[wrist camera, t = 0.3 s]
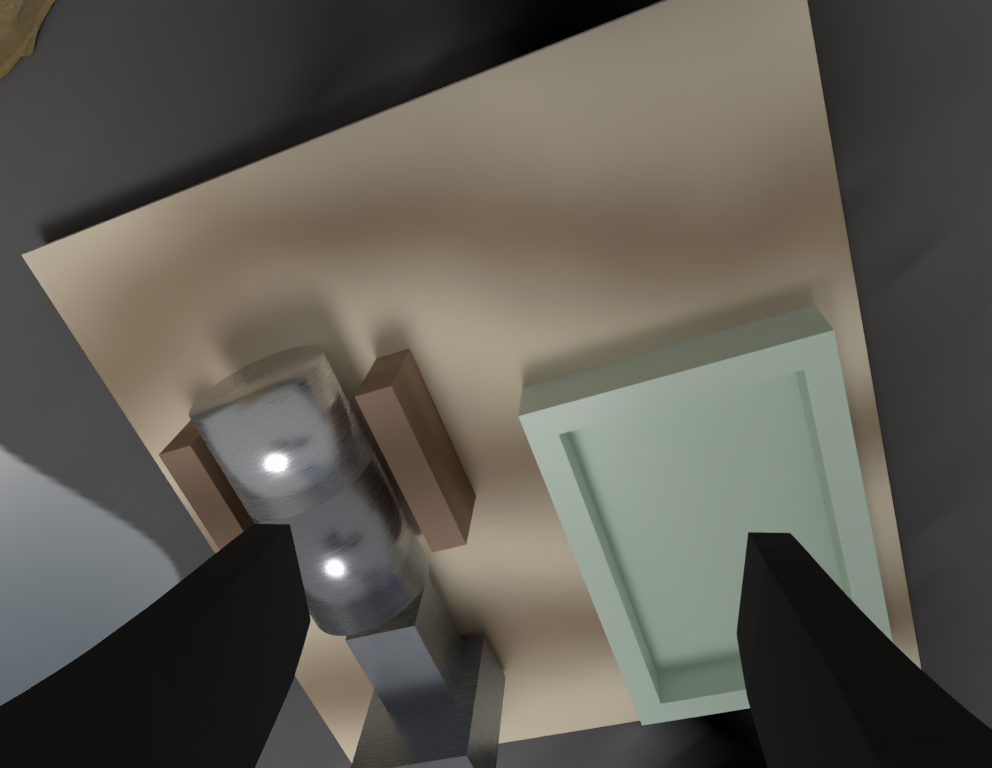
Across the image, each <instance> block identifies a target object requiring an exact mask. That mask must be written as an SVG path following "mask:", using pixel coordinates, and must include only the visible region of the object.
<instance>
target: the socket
mask: <svg viewBox="0 0 992 768" xmlns="http://www.w3.org/2000/svg"><path fill="white" fill-rule="evenodd" d="M355 399H356V401H357V403H358V405H359V407H360V409H361V411H362V413H363V415H364V417H365V419H366V421H367V423H368V425H369V427H370V429H371V431H372V433H373V435H374V437H375V439H376V441H377V443H378V445H379V447H380V449H381V451H382V453H383V455H384V457H385V459H386V461H387V463H388V465H389V467H390V469H391V471H392V473H393V475H394V477H395V479H396V481H397V483H398V485H399V487H400V489H401V491H402V493H403V495H404V497H405V499H406V501H407V503H408V505H409V507H410V509H411V511H412V513H413V515H414V517H415V519H416V521H417V523H418V525H419V527H420V529H421V531H422V533H423V535H424V537H425V539H426V541H427V543H428V545H429V547H430V549H431V551H432V553H433V552H437V551H441V550H445V549H450V548H454V547H458V546H462V545H466V543H467V538H468V534H469V529H470V524H471V519H472V514H473V509H474V504H475V500H476V495H475V493H474V490H473V488H472V486H471V484H470V482H469V479H468V477H467V475H466V473H465V470H464V468H463V466H462V464H461V462H460V459H459V457H458V455H457V453H456V451H455V448H454V446H453V444H452V442H451V439H450V437H449V435H448V433H447V431H446V428H445V426H444V424H443V422H442V419H441V417H440V415H439V413H438V411H437V408H436V406H435V404H434V402H433V399H432V397H431V395H430V393H429V391H428V388H427V386H426V384H425V382H424V379H423V377H422V375H421V373H420V371H419V368H418V366H417V364H416V362H415V359H414V357H413V355H412V353H411V351H410V348H409V349H406V350H403V351H399V352H396V353H393V354H390V355H386V356H383V357H380V358H377V359H376V360H375V361H374V363H373V365H372V367H371V369H370V370H369V372H368V374H367V376H366V377H365V379H364V381H363V383H362V384H361V386H360V388H359V390H358V392H357V393H356V395H355ZM159 457H160V458H161V460H162V461H163V463H164V464H165V466H166V467H167V469H168V471H169V472H170V474H171V475H172V477H173V478H174V480H175V481H176V483H177V485H178V486H179V488H180V489H181V491H182V492H183V494H184V495H185V497H186V498H187V500H188V502H189V503H190V505H191V506H192V508H193V509H194V511H195V512H196V514H197V515H198V517H199V519H200V520H201V522H202V523H203V525H204V526H205V528H206V529H207V531H208V533H209V534H210V536H211V537H212V539H213V540H214V542H215V543H216V545H217V546H218V548H219V550H221V549H222V548H223V547H224V546H226V545H227V544H228V543H229V542H231V541H232V540H233V539H234V538H236V537H237V536H238V535H240V534H241V533H242V532H244V531H245V530H246V529H248V528H249V527H250V526H252V525H253V524H254V522H253V520H252V519H251V517H250V515H249V514H248V512H247V510H246V509H245V507H244V506H243V504H242V502H241V501H240V499H239V497H238V496H237V494H236V492H235V491H234V489H233V487H232V486H231V484H230V483H229V481H228V479H227V478H226V476H225V474H224V473H223V471H222V469H221V468H220V466H219V465H218V463H217V461H216V460H215V458H214V456H213V455H212V453H211V451H210V450H209V448H208V447H207V445H206V443H205V442H204V440H203V438H202V437H201V435H200V433H199V432H198V430H197V429H196V427H195V425H194V424H193V422H192V420H190V421H189V422H188V423H187V425H186V426H185V427H184V428H183V429H182V430H181V431H180V432H179V433H178V434H177V435H176V436H175V438H174V439H173V440H172V441H171V442H170V443H169V444H168V445H167V446H166V447H165V448H164V449H163V451H162V452H161V453H160V454H159Z"/></svg>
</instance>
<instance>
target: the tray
mask: <svg viewBox="0 0 992 768" xmlns="http://www.w3.org/2000/svg"><path fill="white" fill-rule="evenodd" d="M518 417H519V419H520V422H521V424H522V427H523V429H524V432H525V434H526V437H527V439H528V442H529V444H530V447H531V449H532V452H533V454H534V457H535V459H536V462H537V464H538V467H539V469H540V472H541V474H542V477H543V479H544V482H545V484H546V487H547V489H548V492H549V494H550V497H551V499H552V502H553V504H554V507H555V509H556V512H557V514H558V517H559V519H560V522H561V524H562V527H563V529H564V532H565V534H566V537H567V539H568V542H569V544H570V547H571V549H572V552H573V554H574V557H575V559H576V562H577V564H578V567H579V569H580V572H581V574H582V577H583V579H584V582H585V584H586V587H587V589H588V592H589V594H590V597H591V599H592V602H593V604H594V607H595V609H596V612H597V614H598V617H599V619H600V622H601V624H602V627H603V629H604V632H605V634H606V637H607V639H608V642H609V644H610V647H611V649H612V652H613V654H614V657H615V659H616V662H617V664H618V666H619V669H620V671H621V674H622V676H623V679H624V681H625V684H626V686H627V689H628V691H629V694H630V696H631V699H632V701H633V704H634V706H635V709H636V711H637V714H638V716H639V719H640V721H641V724H642V725H648V724H654V723H661V722H667V721H673V720H679V719H685V718H692V717H698V716H704V715H710V714H716V713H723V712H729V711H735V710H741V709H747V708H750V705H749V702H748V698H747V693H746V688H745V682H744V677H743V671H742V665H741V659H740V653H739V647H738V641H737V634H736V632H737V624H738V615H739V607H740V598H741V590H742V581H743V573H744V564H745V556H746V547H747V539H748V532H765V533H791V534H792V535H793V536H794V537H795V538H796V539H797V540H798V541H799V543H800V544H801V545H802V546H803V547H804V548H805V549H806V550H807V551H808V553H809V554H810V555H811V556H812V557H813V558H814V559H815V560H816V562H817V563H818V564H819V565H820V566H821V567H822V568H823V569H824V571H825V572H826V573H827V574H828V575H829V576H830V577H831V578H832V579H833V580H834V582H835V583H836V584H837V585H838V586H839V587H840V588H841V589H842V590H843V591H844V592H845V594H846V595H847V596H848V597H849V598H850V599H851V600H852V601H853V602H854V603H855V604H856V605H857V606H858V607H859V609H860V610H861V611H862V612H863V613H864V614H865V615H866V616H867V617H868V618H869V619H870V620H871V621H872V622H873V623H874V624H875V625H876V626H877V627H878V628H879V629H880V630H881V631H882V632H883V633H884V634H885V635H886V636H887V637H888V638H889V639H890V640H891V641H892V635H891V630H890V625H889V619H888V614H887V609H886V603H885V598H884V593H883V588H882V582H881V577H880V572H879V566H878V561H877V556H876V550H875V545H874V540H873V535H872V529H871V524H870V519H869V513H868V508H867V503H866V497H865V492H864V487H863V481H862V476H861V471H860V466H859V460H858V455H857V450H856V444H855V439H854V434H853V428H852V423H851V418H850V413H849V407H848V402H847V397H846V391H845V386H844V381H843V375H842V370H841V365H840V359H839V354H838V349H837V344H836V338H835V333H834V329H833V328H832V327H831V326H830V324H829V323H828V322H827V320H826V319H825V318H824V317H823V315H822V314H821V313H820V311H819V310H818V309H817V308H816V306H815V305H811V306H807V307H804V308H800V309H797V310H793V311H790V312H786V313H783V314H779V315H776V316H772V317H769V318H765V319H761V320H758V321H754V322H751V323H747V324H744V325H740V326H737V327H733V328H730V329H726V330H723V331H719V332H715V333H712V334H708V335H705V336H701V337H698V338H694V339H691V340H687V341H684V342H680V343H677V344H673V345H669V346H666V347H662V348H659V349H655V350H652V351H648V352H645V353H641V354H638V355H634V356H631V357H627V358H623V359H620V360H616V361H613V362H609V363H606V364H602V365H599V366H595V367H592V368H588V369H585V370H581V371H577V372H574V373H570V374H567V375H563V376H560V377H556V378H553V379H549V380H546V381H542V382H539V383H535V384H531V385H528V386H524V387H522V394H521V401H520V408H519V415H518ZM892 642H893V641H892Z"/></svg>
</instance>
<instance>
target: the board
mask: <svg viewBox="0 0 992 768" xmlns="http://www.w3.org/2000/svg"><path fill="white" fill-rule="evenodd" d="M22 257H23V258H24V260H25V261H26V263H27V264H28V266H29V267H30V269H31V271H32V272H33V274H34V275H35V277H36V278H37V280H38V281H39V283H40V284H41V286H42V287H43V289H44V291H45V292H46V294H47V295H48V297H49V298H50V300H51V301H52V303H53V304H54V306H55V307H56V309H57V311H58V312H59V314H60V315H61V317H62V318H63V320H64V321H65V323H66V324H67V326H68V327H69V329H70V331H71V332H72V334H73V335H74V337H75V338H76V340H77V341H78V343H79V344H80V346H81V347H82V349H83V351H84V352H85V354H86V355H87V357H88V358H89V360H90V361H91V363H92V364H93V366H94V367H95V369H96V371H97V372H98V374H99V375H100V377H101V378H102V380H103V381H104V383H105V384H106V386H107V387H108V389H109V390H110V392H111V394H112V395H113V397H114V398H115V400H116V401H117V403H118V404H119V406H120V407H121V409H122V410H123V412H124V414H125V415H126V417H127V418H128V420H129V421H130V423H131V424H132V426H133V427H134V429H135V430H136V432H137V434H138V435H139V437H140V438H141V440H142V441H143V443H144V444H145V446H146V447H147V449H148V450H149V452H150V454H151V455H152V457H153V458H154V460H155V461H156V463H157V464H158V466H159V467H160V469H161V470H162V472H163V474H164V475H165V477H166V478H167V480H168V481H169V483H170V484H171V486H172V487H173V489H174V490H175V492H176V494H177V495H178V497H179V498H180V500H181V501H182V503H183V504H184V506H185V507H186V509H187V510H188V512H189V514H190V515H191V517H192V518H193V520H194V521H195V523H196V524H197V526H198V527H199V529H200V530H201V532H202V533H203V535H204V537H205V538H206V540H207V541H208V543H209V544H210V546H211V547H212V549H213V550H214V552H215V553H217V552H218V551H219V548H218V546H217V545H216V543H215V542H214V540H213V539H212V537H211V536H210V534H209V533H208V531H207V529H206V528H205V526H204V525H203V523H202V522H201V520H200V519H199V517H198V515H197V514H196V512H195V511H194V509H193V508H192V506H191V505H190V503H189V502H188V500H187V498H186V497H185V495H184V494H183V492H182V491H181V489H180V488H179V486H178V485H177V483H176V481H175V480H174V478H173V477H172V475H171V474H170V472H169V471H168V469H167V467H166V466H165V464H164V463H163V461H162V460H161V458H160V457H159V454H160V453H161V452H162V451H163V449H164V448H165V447H166V446H167V445H168V444H169V443H170V442H171V441H172V440H173V439H174V438H175V436H176V435H177V434H178V433H179V432H180V431H181V430H182V429H183V428H184V427H185V426H186V425H187V423H188V422H189V421H190V420H191V419H190V417H189V411H190V408H191V407H192V405H193V404H194V403H195V402H196V400H197V399H198V398H199V397H200V396H201V395H203V394H204V393H205V392H206V391H207V390H209V389H210V388H211V387H213V386H214V385H215V384H217V383H218V382H220V381H221V380H223V379H225V378H226V377H228V376H229V375H231V374H233V373H235V372H236V371H238V370H240V369H242V368H244V367H246V366H248V365H250V364H252V363H254V362H256V361H258V360H261V359H263V358H265V357H268V356H270V355H273V354H276V353H279V352H282V351H285V350H288V349H292V348H296V347H301V346H318V347H320V348H322V349H323V351H324V353H325V355H326V357H327V359H328V361H329V363H330V365H331V367H332V369H333V371H334V373H335V375H336V377H337V379H338V381H339V383H340V385H341V387H342V389H343V391H344V393H345V395H346V397H347V399H348V401H349V403H350V405H351V407H352V409H353V411H354V413H355V415H356V417H357V419H358V421H359V423H360V425H361V427H362V429H363V431H364V433H365V435H366V437H367V439H368V441H369V443H370V445H371V447H372V449H373V451H374V453H375V455H376V457H377V458H378V460H379V462H380V464H381V466H382V468H383V470H384V472H385V474H386V476H387V478H388V480H389V482H390V484H391V486H392V488H393V490H394V492H395V494H396V496H397V498H398V500H399V502H400V504H401V506H402V508H403V510H404V512H405V514H406V516H407V518H408V520H409V522H410V524H411V526H412V528H413V530H414V532H415V534H416V536H417V538H418V540H419V542H420V544H421V546H422V548H423V550H424V552H425V554H426V556H427V558H428V560H429V575H430V577H431V579H432V581H433V583H434V585H435V587H436V589H437V591H438V593H439V595H440V597H441V599H442V601H443V603H444V605H445V607H446V609H447V611H448V613H449V615H450V617H451V619H452V621H453V622H454V624H455V626H456V628H457V630H458V632H459V634H460V636H461V638H466V637H471V636H476V635H481V634H485V636H486V638H487V640H488V642H489V644H490V646H491V648H492V650H493V652H494V654H495V656H496V658H497V660H498V662H499V664H500V666H501V668H502V670H503V673H504V675H505V677H506V678H505V687H504V697H503V706H502V715H501V725H500V734H499V743H505V742H511V741H517V740H523V739H530V738H536V737H542V736H548V735H554V734H560V733H566V732H572V731H579V730H585V729H591V728H597V727H603V726H609V725H615V724H622V723H628V722H634V721H640V719H639V716H638V714H637V711H636V709H635V706H634V704H633V701H632V699H631V696H630V694H629V691H628V689H627V686H626V684H625V681H624V679H623V676H622V674H621V671H620V669H619V666H618V664H617V662H616V659H615V657H614V654H613V652H612V649H611V647H610V644H609V642H608V639H607V637H606V634H605V632H604V629H603V627H602V624H601V622H600V619H599V617H598V614H597V612H596V609H595V607H594V604H593V602H592V599H591V597H590V594H589V592H588V589H587V587H586V584H585V582H584V579H583V577H582V574H581V572H580V569H579V567H578V564H577V562H576V559H575V557H574V554H573V552H572V549H571V547H570V544H569V542H568V539H567V537H566V534H565V532H564V529H563V527H562V524H561V522H560V519H559V517H558V514H557V512H556V509H555V507H554V504H553V502H552V499H551V497H550V494H549V492H548V489H547V487H546V484H545V482H544V479H543V477H542V474H541V472H540V469H539V467H538V464H537V462H536V459H535V457H534V454H533V452H532V449H531V447H530V444H529V442H528V439H527V437H526V434H525V432H524V429H523V427H522V424H521V422H520V419H519V417H518V415H519V408H520V401H521V394H522V387H524V386H528V385H531V384H535V383H539V382H542V381H546V380H549V379H553V378H556V377H560V376H563V375H567V374H570V373H574V372H577V371H581V370H585V369H588V368H592V367H595V366H599V365H602V364H606V363H609V362H613V361H616V360H620V359H623V358H627V357H631V356H634V355H638V354H641V353H645V352H648V351H652V350H655V349H659V348H662V347H666V346H669V345H673V344H677V343H680V342H684V341H687V340H691V339H694V338H698V337H701V336H705V335H708V334H712V333H715V332H719V331H723V330H726V329H730V328H733V327H737V326H740V325H744V324H747V323H751V322H754V321H758V320H761V319H765V318H769V317H772V316H776V315H779V314H783V313H786V312H790V311H793V310H797V309H800V308H804V307H807V306H811V305H815V306H816V308H817V309H818V310H819V311H820V313H821V314H822V315H823V317H824V318H825V319H826V320H827V322H828V323H829V324H830V326H831V327H832V328H833V329H834V333H835V338H836V344H837V349H838V354H839V359H840V365H841V370H842V375H843V381H844V386H845V391H846V397H847V402H848V407H849V413H850V418H851V423H852V428H853V434H854V439H855V444H856V450H857V455H858V460H859V466H860V471H861V476H862V481H863V487H864V492H865V497H866V503H867V508H868V513H869V519H870V524H871V529H872V535H873V540H874V545H875V550H876V556H877V561H878V566H879V572H880V577H881V582H882V588H883V593H884V598H885V603H886V609H887V614H888V619H889V625H890V630H891V635H892V641H893V643H894V644H895V645H896V646H897V647H898V648H899V649H900V650H901V651H902V652H903V653H904V654H905V655H906V656H907V657H908V658H909V659H910V660H911V661H912V662H914V663H915V664H916V665H917V666H918V667H919V668H920V669H921V665H920V659H919V653H918V647H917V641H916V635H915V630H914V624H913V618H912V612H911V606H910V600H909V594H908V589H907V583H906V577H905V571H904V565H903V559H902V553H901V548H900V542H899V536H898V530H897V524H896V518H895V512H894V507H893V501H892V495H891V489H890V483H889V477H888V471H887V466H886V460H885V454H884V448H883V442H882V436H881V430H880V425H879V419H878V413H877V407H876V401H875V395H874V389H873V384H872V378H871V372H870V366H869V360H868V354H867V348H866V343H865V337H864V331H863V325H862V319H861V313H860V307H859V302H858V296H857V290H856V284H855V278H854V272H853V266H852V261H851V255H850V249H849V243H848V237H847V231H846V225H845V220H844V214H843V208H842V202H841V196H840V190H839V184H838V179H837V173H836V167H835V161H834V155H833V149H832V143H831V138H830V132H829V126H828V120H827V114H826V108H825V102H824V97H823V91H822V85H821V79H820V73H819V67H818V62H817V56H816V50H815V44H814V38H813V32H812V26H811V21H810V15H809V9H808V3H807V0H662V1H660V2H657V3H655V4H652V5H650V6H647V7H645V8H642V9H640V10H637V11H635V12H632V13H629V14H627V15H624V16H622V17H619V18H617V19H614V20H612V21H609V22H607V23H604V24H602V25H599V26H597V27H594V28H591V29H589V30H586V31H584V32H581V33H579V34H576V35H574V36H571V37H569V38H566V39H564V40H561V41H559V42H556V43H554V44H551V45H548V46H546V47H543V48H541V49H538V50H536V51H533V52H531V53H528V54H526V55H523V56H521V57H518V58H516V59H513V60H510V61H508V62H505V63H503V64H500V65H498V66H495V67H493V68H490V69H488V70H485V71H483V72H480V73H478V74H475V75H472V76H470V77H467V78H465V79H462V80H460V81H457V82H455V83H452V84H450V85H447V86H445V87H442V88H440V89H437V90H434V91H432V92H429V93H427V94H424V95H422V96H419V97H417V98H414V99H412V100H409V101H407V102H404V103H402V104H399V105H397V106H394V107H391V108H389V109H386V110H384V111H381V112H379V113H376V114H374V115H371V116H369V117H366V118H364V119H361V120H359V121H356V122H353V123H351V124H348V125H346V126H343V127H341V128H338V129H336V130H333V131H331V132H328V133H326V134H323V135H321V136H318V137H315V138H313V139H310V140H308V141H305V142H303V143H300V144H298V145H295V146H293V147H290V148H288V149H285V150H283V151H280V152H278V153H275V154H272V155H270V156H267V157H265V158H262V159H260V160H257V161H255V162H252V163H250V164H247V165H245V166H242V167H240V168H237V169H234V170H232V171H229V172H227V173H224V174H222V175H219V176H217V177H214V178H212V179H209V180H207V181H204V182H202V183H199V184H196V185H194V186H191V187H189V188H186V189H184V190H181V191H179V192H176V193H174V194H171V195H169V196H166V197H164V198H161V199H158V200H156V201H153V202H151V203H148V204H146V205H143V206H141V207H138V208H136V209H133V210H131V211H128V212H126V213H123V214H121V215H118V216H115V217H113V218H110V219H108V220H105V221H103V222H100V223H98V224H95V225H93V226H90V227H88V228H85V229H83V230H80V231H77V232H75V233H72V234H70V235H67V236H65V237H62V238H60V239H57V240H55V241H52V242H50V243H47V244H45V245H42V246H40V247H38V248H36V249H34V250H32V251H29V252H27V253H25V254H23V255H22ZM409 348H410V351H411V353H412V355H413V357H414V359H415V362H416V364H417V366H418V368H419V371H420V373H421V375H422V377H423V379H424V382H425V384H426V386H427V388H428V391H429V393H430V395H431V397H432V399H433V402H434V404H435V406H436V408H437V411H438V413H439V415H440V417H441V419H442V422H443V424H444V426H445V428H446V431H447V433H448V435H449V437H450V439H451V442H452V444H453V446H454V448H455V451H456V453H457V455H458V457H459V459H460V462H461V464H462V466H463V468H464V470H465V473H466V475H467V477H468V479H469V482H470V484H471V486H472V488H473V490H474V493H475V495H476V500H475V504H474V509H473V514H472V519H471V524H470V529H469V534H468V538H467V543H466V545H462V546H458V547H454V548H450V549H445V550H441V551H437V552H433V553H432V551H431V549H430V547H429V545H428V543H427V541H426V539H425V537H424V535H423V533H422V531H421V529H420V527H419V525H418V523H417V521H416V519H415V517H414V515H413V513H412V511H411V509H410V507H409V505H408V503H407V501H406V499H405V497H404V495H403V493H402V491H401V489H400V487H399V485H398V483H397V481H396V479H395V477H394V475H393V473H392V471H391V469H390V467H389V465H388V463H387V461H386V459H385V457H384V455H383V453H382V451H381V449H380V447H379V445H378V443H377V441H376V439H375V437H374V435H373V433H372V431H371V429H370V427H369V425H368V423H367V421H366V419H365V417H364V415H363V413H362V411H361V409H360V407H359V405H358V403H357V401H356V399H355V395H356V393H357V392H358V390H359V388H360V386H361V384H362V383H363V381H364V379H365V377H366V376H367V374H368V372H369V370H370V369H371V367H372V365H373V363H374V361H375V360H376V359H377V358H380V357H383V356H386V355H390V354H393V353H396V352H399V351H403V350H406V349H409ZM310 618H311V622H310V625H309V629H308V632H307V636H306V640H305V643H304V647H303V650H302V654H301V657H300V660H299V663H298V666H297V670H296V673H295V677H296V678H297V680H298V681H299V683H300V684H301V686H302V687H303V689H304V690H305V692H306V693H307V695H308V696H309V698H310V700H311V701H312V703H313V704H314V706H315V707H316V709H317V710H318V712H319V713H320V715H321V716H322V718H323V720H324V721H325V723H326V724H327V726H328V727H329V729H330V730H331V732H332V733H333V735H334V736H335V738H336V740H337V741H338V743H339V744H340V746H341V747H342V749H343V750H344V752H345V753H346V755H347V756H348V758H349V760H350V761H351V763H352V762H353V759H354V755H355V752H356V748H357V745H358V742H359V738H360V735H361V732H362V728H363V725H364V721H365V718H366V715H367V711H368V708H369V705H370V701H371V698H372V694H373V691H374V688H373V686H372V685H371V683H370V681H369V680H368V678H367V676H366V675H365V673H364V671H363V670H362V668H361V666H360V665H359V663H358V661H357V660H356V658H355V656H354V655H353V653H352V651H351V650H350V648H349V646H348V645H347V643H346V641H345V639H346V636H335V635H330V634H327V633H325V632H323V631H322V630H320V629H319V628H318V626H317V625H316V623H315V622H314V620H313V619H312V617H311V615H310ZM499 743H498V744H499Z"/></svg>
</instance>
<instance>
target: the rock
mask: <svg viewBox="0 0 992 768" xmlns="http://www.w3.org/2000/svg"><path fill="white" fill-rule="evenodd" d="M54 2H55V0H0V79H1V78H3V77H4V76H6V75H7V74H8V73H9V72H10V70H11V69H12V68H13V67H14V65H15V64H16V63H17V62H18V60H19V59H20V58H21V57H22V56H25V57H27V56H29V55H30V54H32V52H33V49H34V45H35V42H36V37H37V33H38V31H39V29H40V27H41V24H42V22H43V20H44V18H45V16H46V14H47V13H48V11H49V10H50V8H51V5H52V3H54Z"/></svg>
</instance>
